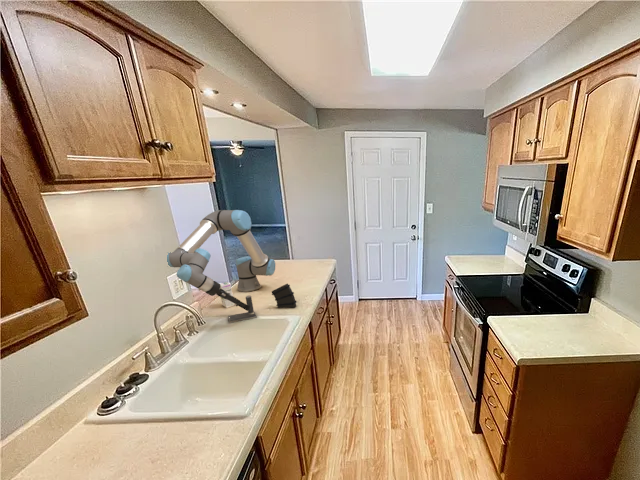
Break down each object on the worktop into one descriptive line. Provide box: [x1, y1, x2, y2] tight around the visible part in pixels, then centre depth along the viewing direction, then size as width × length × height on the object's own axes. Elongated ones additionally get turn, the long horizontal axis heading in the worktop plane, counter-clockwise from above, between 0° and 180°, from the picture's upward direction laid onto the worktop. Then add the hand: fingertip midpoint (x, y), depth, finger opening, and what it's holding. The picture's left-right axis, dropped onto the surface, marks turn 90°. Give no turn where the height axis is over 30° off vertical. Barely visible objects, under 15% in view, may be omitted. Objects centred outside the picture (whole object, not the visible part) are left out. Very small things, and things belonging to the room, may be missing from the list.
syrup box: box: [219, 281, 236, 309], centre depth 204 cm, size 6×6×14 cm
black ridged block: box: [271, 283, 297, 309], centre depth 202 cm, size 4×13×15 cm, turn 90°
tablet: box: [227, 311, 257, 324], centre depth 188 cm, size 9×14×1 cm, turn 121°
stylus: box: [245, 295, 255, 315], centre depth 189 cm, size 3×3×11 cm
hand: (243, 305), depth 186 cm, fingers open, 13 cm apart
